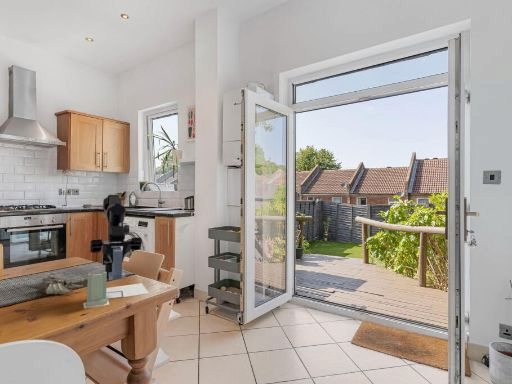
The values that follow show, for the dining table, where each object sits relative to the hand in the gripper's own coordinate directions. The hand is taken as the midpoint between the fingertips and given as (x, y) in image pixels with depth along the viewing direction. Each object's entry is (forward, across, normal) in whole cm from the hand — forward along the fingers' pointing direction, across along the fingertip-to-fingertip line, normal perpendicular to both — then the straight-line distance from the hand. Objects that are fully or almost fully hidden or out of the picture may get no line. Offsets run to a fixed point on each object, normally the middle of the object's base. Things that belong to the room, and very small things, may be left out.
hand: (117, 262), depth 115 cm
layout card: (+8, 0, +11) cm, 14 cm away
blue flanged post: (+3, 0, +5) cm, 6 cm away
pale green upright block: (+13, -7, +5) cm, 16 cm away
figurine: (-1, -21, +21) cm, 30 cm away
